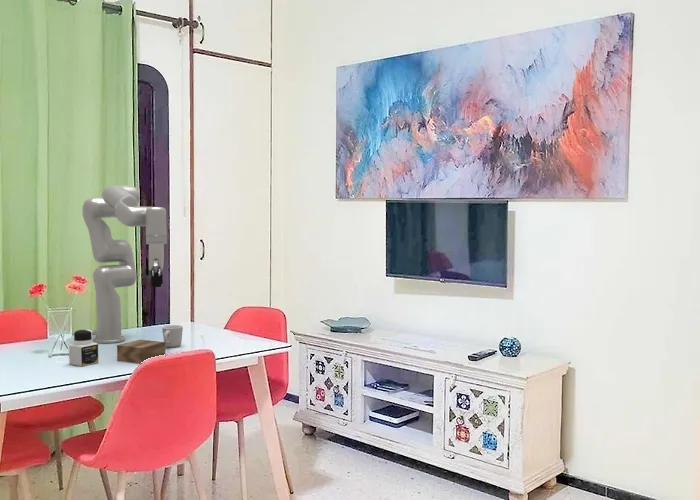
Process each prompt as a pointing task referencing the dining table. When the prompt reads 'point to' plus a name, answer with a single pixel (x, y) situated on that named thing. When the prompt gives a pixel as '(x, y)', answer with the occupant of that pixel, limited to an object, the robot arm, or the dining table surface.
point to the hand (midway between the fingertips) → (157, 285)
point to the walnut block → (139, 350)
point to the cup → (172, 335)
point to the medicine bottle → (83, 349)
